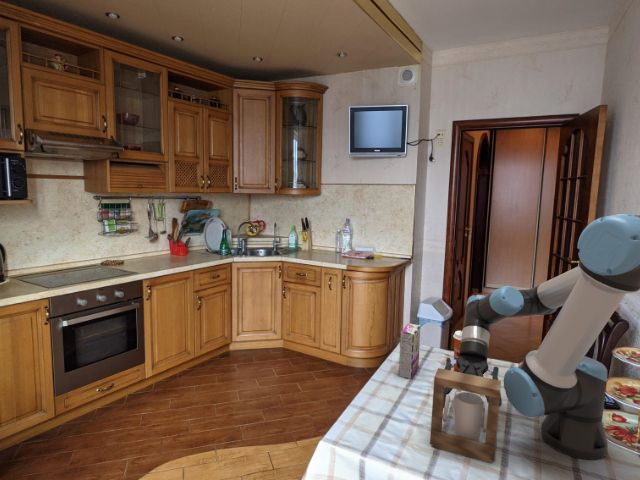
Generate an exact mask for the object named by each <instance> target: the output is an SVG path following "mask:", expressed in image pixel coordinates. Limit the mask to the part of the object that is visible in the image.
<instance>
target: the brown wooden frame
mask: <svg viewBox="0 0 640 480" xmlns="http://www.w3.org/2000/svg"><path fill="white" fill-rule="evenodd" d="M433 378H434V379H433V392H432V405H431V406H432V407H431V419H430V420H431V423H430V434H429V435H430V439H429V444H430V445H431V448H435V449H438V450H442V451H445V452H449V453H452V454H457V455H460V456H463V457H467V458H471V459H475V460H477V461H481V462H485V463H488V464H492V462H495V459H496V458H495V457H496V447H497V437H498V436H497V435H498V424H499V412H500V407H499V402H500V393H501V388H502V380H499V379H498V380H495V379H492V378H489V377H485V376H484V377H480V376H475V375H470V374H465V373H460V372H455V371H454V370H445V369H444V368H439V367H438V368H437V371H436V373H435V375H434V377H433ZM445 387H448V388H453V389H452V390H459V391H461V392H471V393H475V394H477V395H479V396H484V397H485V396H489V402H487V403H488V414H487V426H486V432H485V439H484V442H481V441H479V442H478V441H475V440H471V439H467V438H463V437H459V436H455V435H454V434H451V433H448V432H443V431H442V430H443V413H444V408H443V405H444V390H445Z"/></svg>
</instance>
